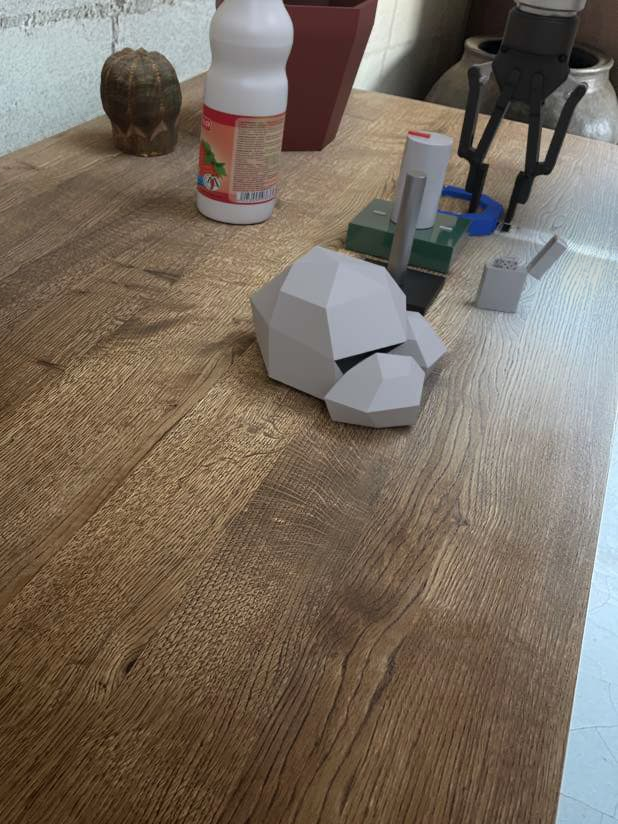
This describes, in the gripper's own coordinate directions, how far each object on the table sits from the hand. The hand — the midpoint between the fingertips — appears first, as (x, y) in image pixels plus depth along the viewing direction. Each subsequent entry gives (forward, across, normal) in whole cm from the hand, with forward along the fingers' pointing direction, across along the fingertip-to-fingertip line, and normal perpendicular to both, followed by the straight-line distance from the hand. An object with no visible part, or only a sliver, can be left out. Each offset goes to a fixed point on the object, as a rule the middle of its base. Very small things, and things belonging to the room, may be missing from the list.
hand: (488, 223), depth 114 cm
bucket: (+1, -35, +19) cm, 40 cm away
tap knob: (-3, -7, -13) cm, 15 cm away
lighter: (+1, +7, -23) cm, 24 cm away
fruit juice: (+1, -28, -15) cm, 32 cm away
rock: (+1, -4, -47) cm, 47 cm away
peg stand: (0, -5, -26) cm, 26 cm away
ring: (0, -5, 0) cm, 5 cm away
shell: (0, -49, 0) cm, 49 cm away
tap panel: (0, -7, -13) cm, 15 cm away
